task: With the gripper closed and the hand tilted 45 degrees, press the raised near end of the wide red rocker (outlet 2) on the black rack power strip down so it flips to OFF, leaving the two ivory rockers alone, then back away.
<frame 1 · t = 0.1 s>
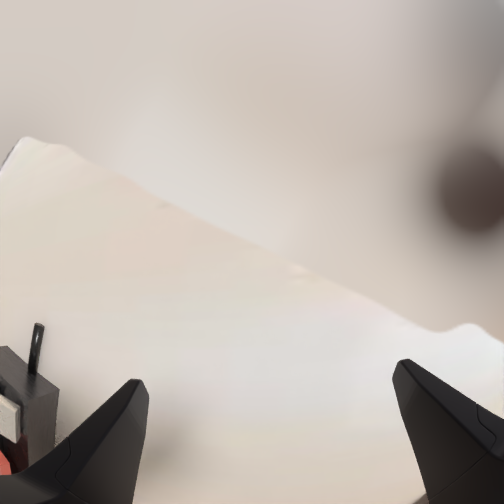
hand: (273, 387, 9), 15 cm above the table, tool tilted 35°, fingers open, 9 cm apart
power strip: (27, 450, 20), on the table
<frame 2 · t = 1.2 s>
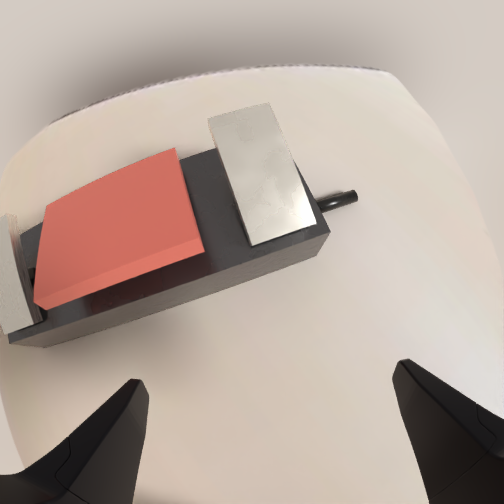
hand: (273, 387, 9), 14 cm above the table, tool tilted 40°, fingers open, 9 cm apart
rocker: (106, 223, 17), point 8 cm above the table, hinge at 14.0°
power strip: (146, 259, 25), on the table
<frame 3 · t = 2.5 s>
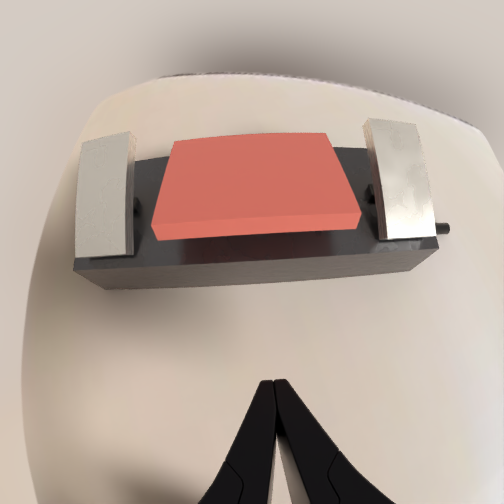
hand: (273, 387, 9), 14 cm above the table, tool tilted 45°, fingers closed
rocker: (253, 175, 19), point 8 cm above the table, hinge at 14.0°
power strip: (255, 230, 26), on the table
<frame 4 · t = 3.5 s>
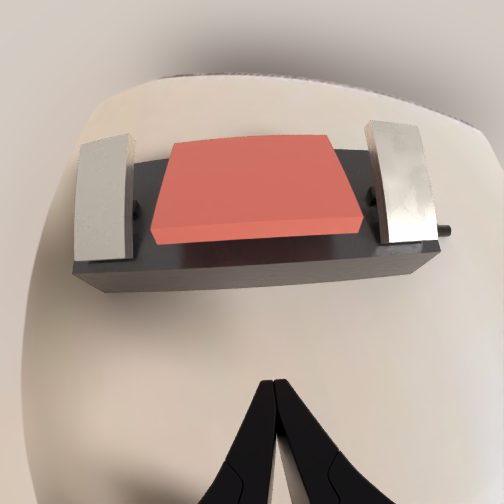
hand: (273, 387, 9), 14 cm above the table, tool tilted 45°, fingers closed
rocker: (253, 178, 18), point 8 cm above the table, hinge at 14.0°
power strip: (255, 233, 26), on the table
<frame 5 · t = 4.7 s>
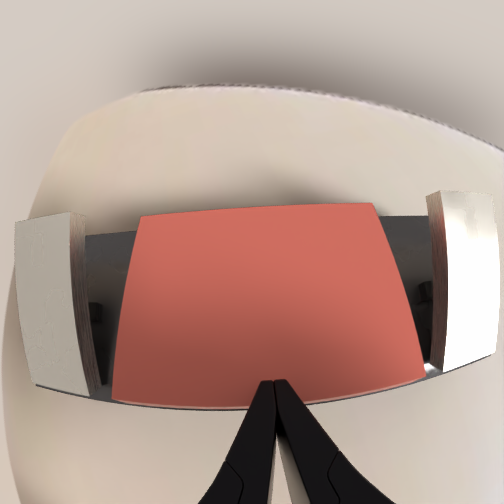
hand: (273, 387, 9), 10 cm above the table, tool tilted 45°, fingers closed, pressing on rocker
rocker: (264, 297, 12), point 8 cm above the table, hinge at 12.7°, touching gripper
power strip: (262, 325, 19), on the table
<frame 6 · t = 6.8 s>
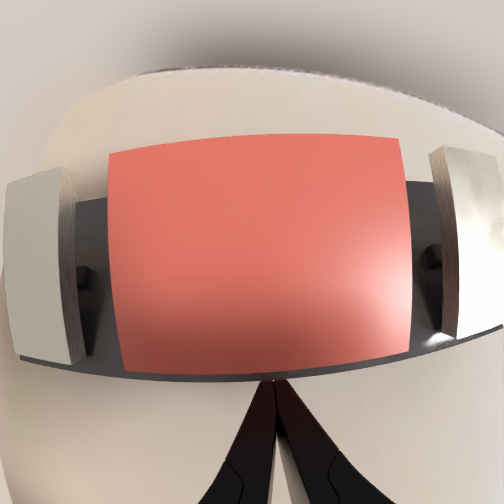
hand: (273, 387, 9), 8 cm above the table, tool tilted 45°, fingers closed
rocker: (262, 254, 11), point 8 cm above the table, hinge at -22.8°
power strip: (261, 296, 18), on the table
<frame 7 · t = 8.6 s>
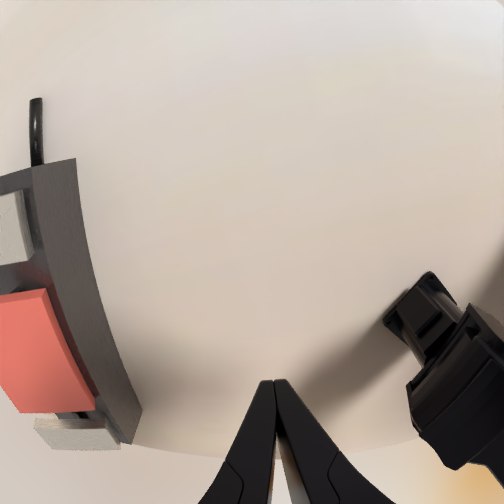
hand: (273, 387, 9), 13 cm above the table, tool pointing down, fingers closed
rocker: (27, 361, 16), point 8 cm above the table, hinge at -22.8°
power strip: (67, 312, 24), on the table
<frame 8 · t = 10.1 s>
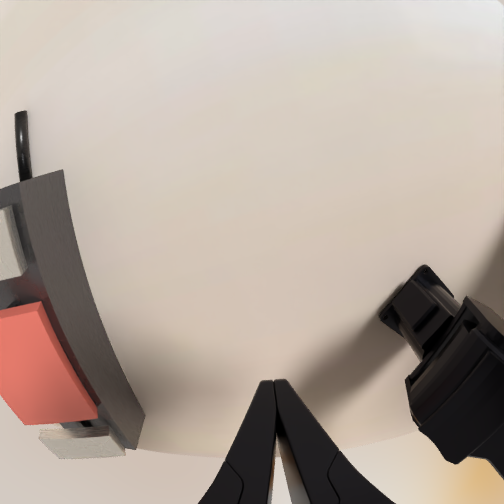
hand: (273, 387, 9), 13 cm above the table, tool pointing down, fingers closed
rocker: (27, 374, 16), point 8 cm above the table, hinge at -22.8°
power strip: (64, 322, 23), on the table
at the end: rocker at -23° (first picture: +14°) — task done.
